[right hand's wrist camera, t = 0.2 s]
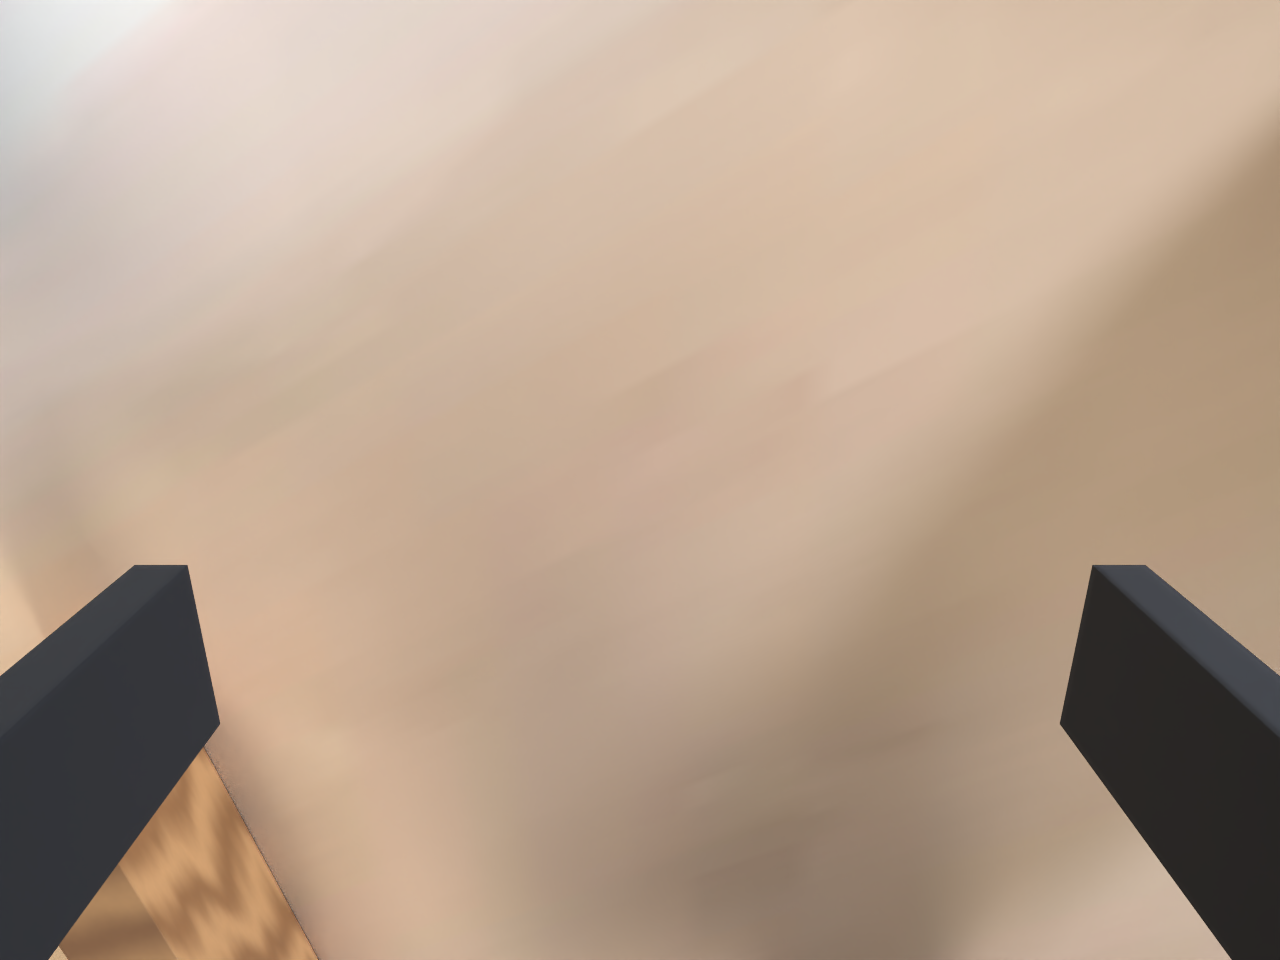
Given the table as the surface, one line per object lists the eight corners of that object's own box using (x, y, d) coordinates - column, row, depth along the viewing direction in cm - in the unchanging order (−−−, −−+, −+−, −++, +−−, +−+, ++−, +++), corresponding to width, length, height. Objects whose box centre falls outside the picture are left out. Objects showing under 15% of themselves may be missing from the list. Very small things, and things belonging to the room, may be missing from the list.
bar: (335, 990, 54) (285, 1131, 46) (258, 1006, 54) (195, 1148, 47) (137, 623, 45) (31, 723, 37) (46, 645, 45) (-77, 748, 37)
